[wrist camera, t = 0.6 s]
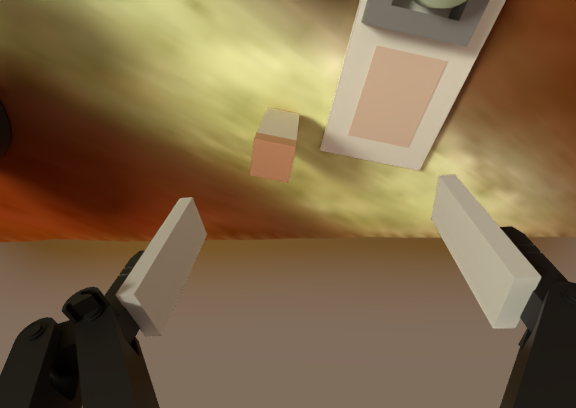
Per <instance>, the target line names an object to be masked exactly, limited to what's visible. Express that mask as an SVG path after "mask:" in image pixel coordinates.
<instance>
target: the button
mask: <svg viewBox="0 0 576 408" xmlns="http://www.w3.org/2000/svg"><path fill="white" fill-rule="evenodd" d="M413 1H414V2H415V3H417V4H418V5H420V6H422V7H426V8H451V7H455V6H457V5H460V4H462V3H463V2H465V1H467V0H413Z"/></svg>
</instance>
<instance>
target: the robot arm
mask: <svg viewBox="0 0 576 408" xmlns="http://www.w3.org/2000/svg"><path fill="white" fill-rule="evenodd" d="M10 139H11V131H10V125H9V121H8V118H7V115H6V113H5V111H4V109H3V107H2V105H1V103H0V156H2V155H3V154H4V153H5V152H6V150H7V149H8V147H9V144H10ZM431 219H432V221H433V223H434V225H435V226H436V228H437V230H438V232H439V234H440V235H441V237H442V239H443V241H444V242H445V244H446V246H447V248H448V250H449V251H450V253H451V255H452V256H453V258H454V260H455V262H456V264H457V266H458V267H459V269H460V271H461V273H462V274H463V276H464V278H465V280H466V282H467V283H468V285H469V286H470V289H471V290H472V292H473V294H474V296H475V298H476V299H477V301H478V303H479V305H480V306H481V308H482V310H483V312H484V313H485V315H486V317H487V319H488V321H489V322H490V324H491V326H492V328H494V329H495V328H496V329H497V328H516V326H517V324H518V322H519V320H520V318H521V319H522V321H523V322H524V324H525V325H526V327H527V330H526V332H525V333H524V335H523V337H522V339H521V341H520V342H519V346H520V349H519V352H518V355H517V358H516V361H515V364H514V367H513V370H512V372H511V375H510V378H509V382H508V384H507V387H506V391H505V394H504V396H503V399H502V402H501V405H500V408H576V283H572V282H568V281H567V279H566V278H565V277H564V276H563V275H562V274H561V273H560V272H559V271H558V270H557V269H556V268H555V266H554V265H553V264H552V263H551V262H550V261H549V260H548V259H547V258H546V257H545V256H544V255H543V254H542V253H540V250H539V249H538V248H537V247H536V246H535V245H533V243H532V242H531V241H530V240H529V239H528V237H527V236H526V235H525V234H523V233H522V232H520V231H518V230H517V229H515V228H513V227H512V226H510V227H499V226H498V225H497V224H496V222H495V221H494V220H493V219H492V218H491V216H490V215H489V214H488V213H487V212H486V211H485V209H484V208H483V207H482V206H481V205H480V203H479V202H478V201H477V200H476V199H475V198H474V196H473V195H472V194H471V193H470V192H469V190H468V189H467V188H466V187H465V186H464V185H463V183H462V182H461V181H460V180H459V179H458V177H457V176H456V175H455V174H453V175H442V176H439V177H438V183H437V189H436V195H435V200H434V206H433V212H432V218H431ZM206 235H207V233H206V231H205V228H204V226H203V223H202V220H201V218H200V215H199V213H198V210H197V207H196V205H195V202H194V200H193V197H189V198H180V199H179V200H178V202H177V203H176V205H175V206H174V208H173V209H172V211H171V212H170V214H169V215H168V217H167V218H166V220H165V221H164V223H163V224H162V226H161V227H160V229H159V230H158V232H157V233H156V235H155V236H154V238H153V239H152V241H151V242H150V244H149V245H148V247H147V248H146V250H144V251H139V252H138V253H137V254H135V255H134V256H133V257H132V258H131V259H130V260H129V261H128V263H127V264H126V266H125V269H123V270H122V272H121V273H120V276H118V277H117V279H116V280H115V282H114V283H113V284H112V286H111V287H110V289H109V290H108V291H107V293H106V294H105V296H104V295H103V294H102V293H101V291H100V290H99V289H98V288H96V287H90V288H85V289H83V290H80V291H79V292H77V293H75V294H74V295H72V296H71V297H70V298H69V299H68V300H67V301H66V303H65V304H64V306H63V309H62V312H63V313H64V314H65V315H66V316H67V317H68V318H69V319H70V320H69V321H66V322H62V323H59V324H57V323H56V322H55V321H54V320H53V319H52V318H48V317H46V318H42V319H39V320H37V321H35V322H33V323H31V324H30V325H28V326H27V327H26V328H25V329H24V330H23V331H22V332H21V333H20V334H19V335H18V336H17V338H16V340H15V342H14V344H13V347H12V349H11V351H10V354H9V356H8V358H7V361H6V363H5V365H4V368H3V370H2V373H1V375H0V408H82V406H83V408H160V407H159V404H158V401H157V398H156V395H155V392H154V389H153V385H152V382H151V379H150V376H149V373H148V370H147V367H146V363H145V360H144V357H143V354H142V351H141V347H140V344H139V341H138V340H137V338H136V337H135V336H136V334H137V332H138V331H139V329H141V331H142V332H143V334H144V335H145V336H162V335H163V332H164V330H165V328H166V326H167V323H168V321H169V319H170V317H171V314H172V312H173V310H174V307H175V305H176V303H177V301H178V299H179V296H180V294H181V292H182V290H183V287H184V285H185V283H186V281H187V278H188V276H189V274H190V271H191V269H192V267H193V265H194V263H195V260H196V258H197V256H198V253H199V251H200V249H201V247H202V244H203V242H204V240H205V238H206Z"/></svg>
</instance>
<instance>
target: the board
mask: <svg viewBox="0 0 576 408" xmlns="http://www.w3.org/2000/svg"><path fill="white" fill-rule="evenodd" d="M505 1H506V0H467V1H465V2H463V3H462V4H460V5H457V6H455V7H451V8H426V7H422V6H420V5H418V4H417V3H415V2H414V1H413V0H360V1H359V5H358V9H357V12H356V16H355V20H354V24H353V27H352V31H351V35H350V38H349V42H348V46H347V50H346V53H345V57H344V61H343V64H342V68H341V72H340V75H339V79H338V83H337V87H336V90H335V94H334V98H333V101H332V105H331V109H330V113H329V116H328V120H327V124H326V127H325V131H324V135H323V138H322V142H321V146H320V151H324V152H329V153H334V154H339V155H344V156H349V157H354V158H359V159H364V160H369V161H374V162H379V163H383V164H388V165H393V166H398V167H403V168H408V169H413V170H418V171H419V170H420V168H421V166H422V164H423V162H424V160H425V158H426V156H427V154H428V153H429V151H430V149H431V147H432V145H433V143H434V141H435V139H436V137H437V135H438V133H439V131H440V129H441V127H442V125H443V123H444V121H445V119H446V117H447V115H448V113H449V111H450V109H451V107H452V105H453V103H454V101H455V99H456V97H457V95H458V93H459V92H460V90H461V88H462V86H463V84H464V82H465V80H466V78H467V76H468V74H469V72H470V70H471V68H472V66H473V64H474V62H475V60H476V58H477V56H478V54H479V52H480V50H481V48H482V46H483V44H484V42H485V40H486V38H487V36H488V34H489V32H490V31H491V29H492V27H493V25H494V23H495V21H496V19H497V17H498V15H499V13H500V11H501V9H502V7H503V5H504V3H505Z"/></svg>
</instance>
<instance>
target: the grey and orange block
mask: <svg viewBox="0 0 576 408" xmlns="http://www.w3.org/2000/svg"><path fill="white" fill-rule="evenodd" d="M299 115H300V114H298V113H294V112H289V111H284V110H279V109H275V108H269V107H268V108H267V110H266V112H265V115H264V117H263V119H262V122H261V124H260V126H259V129H258V131H257V133H256V136H255V138H254V145H253V153H252V161H251V169H250V175H252V176H257V177H262V178H267V179H272V180H277V181H282V182H287V183H288V181H289V177H290V172H291V168H292V163H293V158H294V154H295V149H296V142H297V133H298V124H299Z"/></svg>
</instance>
